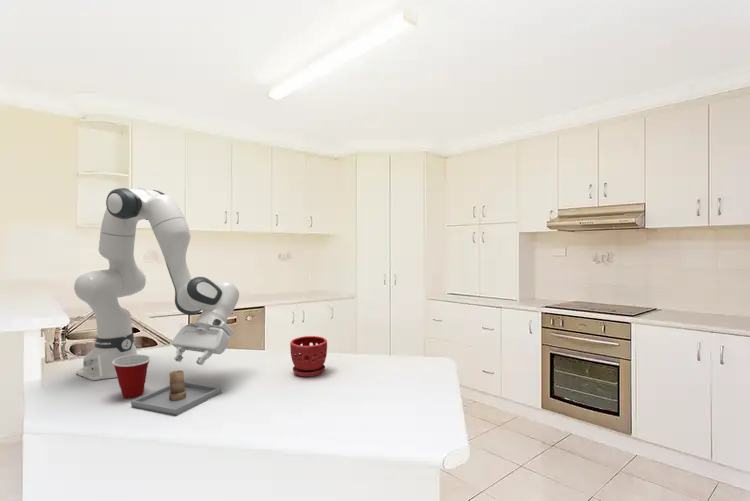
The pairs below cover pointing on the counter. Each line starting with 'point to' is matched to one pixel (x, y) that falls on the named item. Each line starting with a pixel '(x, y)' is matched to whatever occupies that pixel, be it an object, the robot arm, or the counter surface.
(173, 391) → the walnut pestle
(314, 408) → the counter surface
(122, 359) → the plastic cup
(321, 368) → the plant pot
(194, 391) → the grey tray
